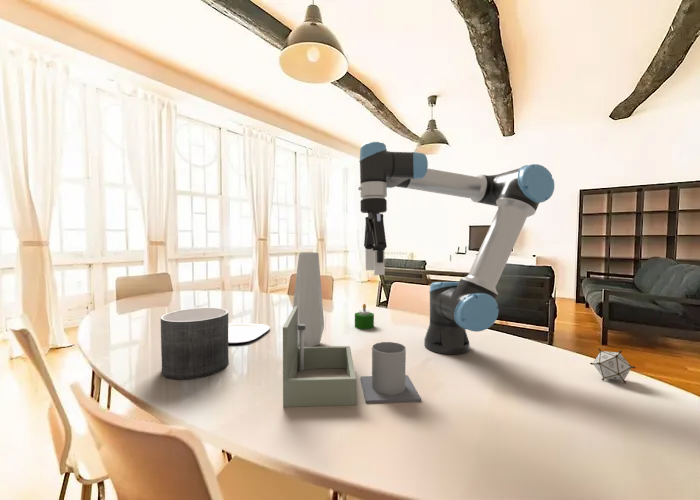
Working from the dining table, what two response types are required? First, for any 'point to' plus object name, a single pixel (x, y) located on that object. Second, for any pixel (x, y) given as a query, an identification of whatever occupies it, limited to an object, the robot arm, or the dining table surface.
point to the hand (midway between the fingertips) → (374, 272)
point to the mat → (376, 397)
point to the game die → (612, 365)
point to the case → (295, 358)
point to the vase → (309, 298)
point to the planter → (194, 342)
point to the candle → (364, 319)
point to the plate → (245, 332)
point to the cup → (388, 368)
